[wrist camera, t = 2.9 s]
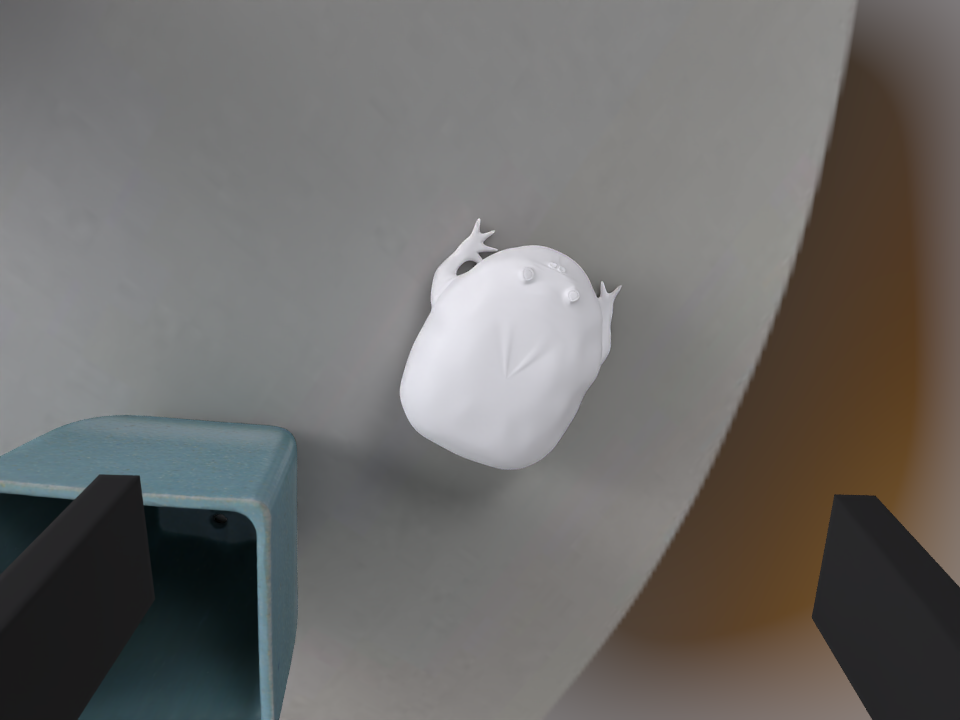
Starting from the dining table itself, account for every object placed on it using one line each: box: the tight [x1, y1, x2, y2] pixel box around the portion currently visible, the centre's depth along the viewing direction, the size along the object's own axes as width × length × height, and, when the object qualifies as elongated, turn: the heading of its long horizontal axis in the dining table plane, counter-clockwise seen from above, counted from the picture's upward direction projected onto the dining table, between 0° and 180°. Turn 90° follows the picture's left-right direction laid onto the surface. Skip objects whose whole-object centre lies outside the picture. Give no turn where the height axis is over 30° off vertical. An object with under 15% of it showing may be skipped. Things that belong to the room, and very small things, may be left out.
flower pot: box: [0, 415, 298, 720], centre depth 28 cm, size 9×9×9 cm
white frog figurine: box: [400, 218, 621, 470], centre depth 28 cm, size 8×7×4 cm
